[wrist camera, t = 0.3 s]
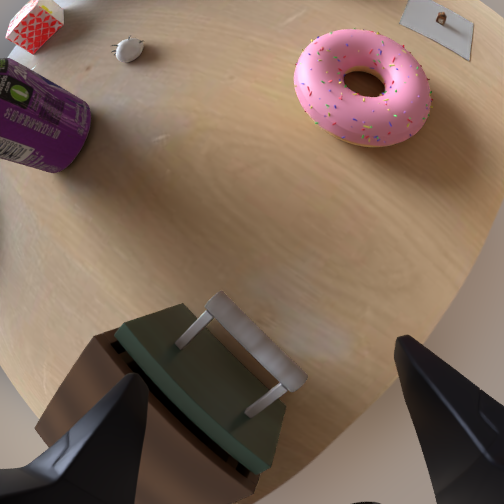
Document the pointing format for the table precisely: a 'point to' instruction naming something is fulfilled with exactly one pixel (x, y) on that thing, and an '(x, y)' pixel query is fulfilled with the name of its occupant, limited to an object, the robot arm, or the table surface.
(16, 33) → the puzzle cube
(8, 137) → the beverage can
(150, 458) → the cabinet
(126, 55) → the white rounded lump
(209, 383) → the drawer
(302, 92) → the doughnut
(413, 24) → the grey square plate
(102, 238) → the table surface
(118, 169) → the table surface
